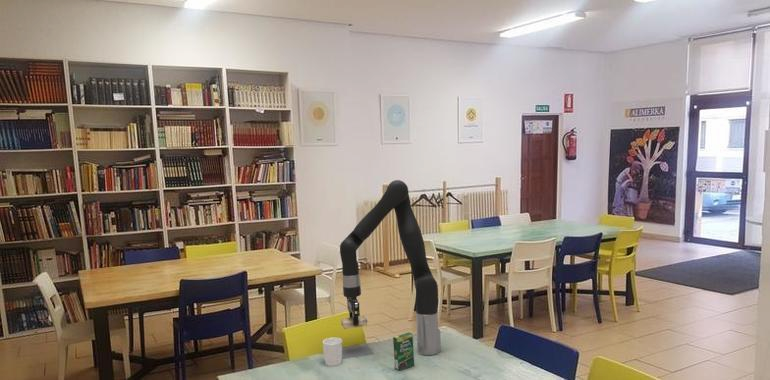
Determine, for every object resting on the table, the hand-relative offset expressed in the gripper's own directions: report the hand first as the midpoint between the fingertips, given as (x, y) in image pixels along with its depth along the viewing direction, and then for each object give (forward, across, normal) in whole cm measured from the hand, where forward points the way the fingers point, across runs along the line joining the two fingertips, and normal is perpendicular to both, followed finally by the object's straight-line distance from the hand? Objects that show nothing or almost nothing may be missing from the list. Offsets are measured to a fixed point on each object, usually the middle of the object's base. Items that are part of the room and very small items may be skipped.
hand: (354, 322), depth 209 cm
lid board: (+1, 0, 0) cm, 1 cm away
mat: (+14, 0, +1) cm, 14 cm away
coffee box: (+14, -22, -14) cm, 30 cm away
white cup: (+14, -8, +12) cm, 20 cm away
